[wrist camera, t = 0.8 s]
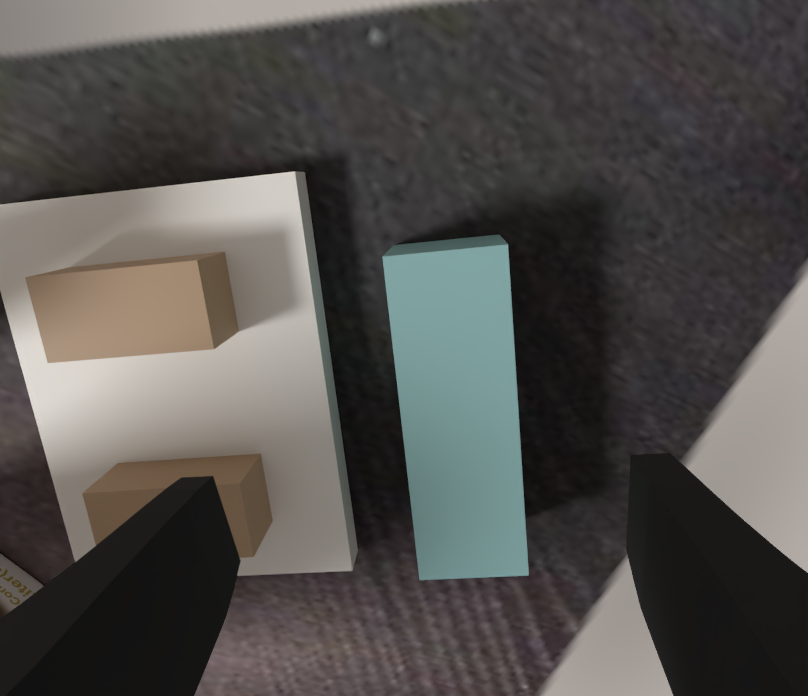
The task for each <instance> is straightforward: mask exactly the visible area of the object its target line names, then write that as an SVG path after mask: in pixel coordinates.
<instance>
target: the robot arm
mask: <svg viewBox="0 0 808 696" xmlns="http://www.w3.org/2000/svg"><path fill="white" fill-rule="evenodd" d="M626 550H627V554H628V558H629V562H630V566H631V570H632V575H633V579H634V583H635V587H636V590H637V595H638V599H639V602H640V606H641V610H642V612H643V615H644V618H645V621H646V623H647V626H648V629H649V631H650V634H651V637H652V640H653V642H654V645H655V648H656V650H657V653H658V656H659V658H660V661H661V663H662V666H663V669H664V672H665V674H666V677H667V680H668V682H669V685H670V687H671V690H672V693H673V695H674V696H808V573H807V572H806V571H804V570H803V569H802V568H800V567H799V566H798V565H796V564H795V563H794V562H793V561H791V560H790V559H789V558H788V557H786V556H785V555H784V554H783V553H781V552H780V551H779V550H778V549H777V548H776V547H774V546H773V545H772V544H771V543H769V541H767V540H766V539H765V538H764V537H763V536H761V535H760V534H759V533H758V532H757V531H756V530H754V529H753V528H752V527H751V526H750V525H749V524H747V523H746V522H745V521H744V520H743V519H742V518H741V517H739V516H738V515H737V514H736V513H735V512H734V511H733V510H731V509H730V508H729V507H728V506H727V505H726V504H725V503H724V502H723V501H722V500H721V499H719V498H718V497H717V496H716V495H715V494H714V493H713V492H712V491H710V489H708V488H707V487H706V486H705V485H704V484H703V483H702V482H701V481H700V480H699V479H698V478H697V477H696V476H694V475H693V474H692V473H691V472H690V471H689V470H688V469H687V468H686V467H685V466H684V465H683V464H681V463H680V462H679V461H678V460H677V459H676V458H675V457H674V456H672V455H671V454H670V453H664V454H644V455H631V465H630V485H629V505H628V525H627V546H626ZM240 562H241V560H240V557H239V554H238V551H237V548H236V545H235V542H234V539H233V536H232V533H231V530H230V526H229V523H228V520H227V517H226V514H225V511H224V508H223V505H222V502H221V499H220V496H219V492H218V489H217V486H216V483H215V480H214V477H213V476H202V477H182V478H180V479H178V480H177V481H176V482H174V483H173V484H171V485H170V486H169V487H167V488H166V489H165V490H164V491H162V492H161V493H160V494H159V495H157V496H156V497H155V498H154V499H152V500H151V501H150V502H149V503H147V504H146V505H145V506H144V507H142V508H141V509H140V510H139V511H138V512H136V513H135V514H134V515H133V516H132V517H130V518H129V519H128V520H127V521H125V522H124V523H123V524H122V525H121V526H119V527H118V528H117V529H116V530H114V531H113V532H112V533H111V534H110V535H108V536H107V537H106V538H105V539H103V540H102V541H101V542H100V543H99V544H97V545H96V546H95V547H94V548H92V549H91V550H90V551H89V552H87V553H86V554H85V555H84V556H83V557H81V558H80V559H79V560H78V561H76V562H75V563H74V564H72V565H71V566H70V567H68V568H67V569H66V570H64V571H63V572H62V573H61V574H59V575H58V576H57V577H55V578H54V579H53V580H51V581H50V582H49V583H47V584H46V585H45V586H43V587H42V588H41V589H39V590H38V591H37V592H36V593H34V594H33V595H32V596H30V597H29V598H28V599H26V600H25V601H24V602H22V603H21V604H20V605H18V606H17V607H16V608H14V609H13V610H11V611H10V612H9V613H7V614H6V615H4V616H3V617H2V618H0V696H194V694H195V692H196V690H197V687H198V685H199V682H200V680H201V677H202V675H203V673H204V670H205V668H206V665H207V663H208V660H209V658H210V655H211V653H212V651H213V648H214V646H215V643H216V641H217V638H218V636H219V633H220V631H221V628H222V625H223V623H224V620H225V618H226V615H227V611H228V608H229V604H230V601H231V597H232V594H233V590H234V586H235V582H236V578H237V574H238V570H239V566H240Z"/></svg>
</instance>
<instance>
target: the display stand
mask: <svg viewBox="0 0 808 696" xmlns="http://www.w3.org/2000/svg"><path fill="white" fill-rule="evenodd" d="M0 292H1V296H2V299H3V303H4V306H5V310H6V314H7V317H8V321H9V325H10V328H11V332H12V335H13V339H14V343H15V346H16V350H17V353H18V357H19V361H20V364H21V368H22V372H23V375H24V379H25V382H26V386H27V390H28V393H29V397H30V401H31V404H32V408H33V411H34V415H35V419H36V422H37V426H38V430H39V433H40V437H41V440H42V444H43V448H44V451H45V455H46V458H47V462H48V466H49V469H50V473H51V477H52V480H53V484H54V487H55V491H56V495H57V498H58V502H59V506H60V509H61V513H62V516H63V520H64V524H65V527H66V531H67V534H68V538H69V542H70V545H71V549H72V553H73V556H74V560H75V562H76V561H78V560H79V559H80V558H81V557H83V556H84V555H85V554H86V553H87V552H89V551H90V550H91V549H92V548H94V547H95V546H96V545H97V544H99V543H100V542H101V541H102V540H103V539H105V538H106V537H107V536H108V535H110V534H111V533H112V532H113V531H114V530H116V529H117V528H118V527H119V526H121V525H122V524H123V523H124V522H125V521H127V520H128V519H129V518H130V517H132V516H133V515H134V514H135V513H136V512H138V511H139V510H140V509H141V508H142V507H144V506H145V505H146V504H147V503H149V502H150V501H151V500H152V499H154V498H155V497H156V496H157V495H159V494H160V493H161V492H162V491H164V490H165V489H166V488H167V487H169V486H170V485H171V484H173V483H174V482H176V481H177V480H178V479H180V478H182V477H202V476H213V477H214V480H215V483H216V486H217V489H218V492H219V496H220V499H221V502H222V505H223V508H224V511H225V514H226V517H227V520H228V523H229V526H230V530H231V533H232V536H233V539H234V542H235V545H236V548H237V551H238V554H239V557H240V560H241V562H240V566H239V570H238V574H237V576H247V575H270V574H292V573H314V572H337V571H353V567H354V563H355V559H356V555H357V551H358V547H357V540H356V533H355V525H354V518H353V511H352V504H351V497H350V490H349V483H348V476H347V468H346V461H345V454H344V447H343V440H342V433H341V426H340V419H339V412H338V404H337V397H336V390H335V383H334V376H333V369H332V362H331V355H330V347H329V340H328V333H327V326H326V319H325V312H324V305H323V298H322V290H321V283H320V276H319V269H318V262H317V255H316V248H315V241H314V233H313V226H312V219H311V212H310V205H309V198H308V191H307V184H306V176H305V172H297V171H294V172H285V173H276V174H267V175H259V176H250V177H241V178H232V179H223V180H214V181H205V182H196V183H187V184H179V185H170V186H161V187H152V188H143V189H134V190H125V191H116V192H107V193H99V194H90V195H81V196H72V197H63V198H54V199H45V200H36V201H27V202H19V203H10V204H1V205H0Z"/></svg>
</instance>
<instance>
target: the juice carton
mask: <svg viewBox="0 0 808 696" xmlns="http://www.w3.org/2000/svg"><path fill="white" fill-rule="evenodd" d="M43 586H44V585H42V584H41V583H40V582H38V581H37V580H36V579H34V578H33V577H32V576H30V575H29V574H28V573H26V572H25V571H24V570H22V569H21V568H20V567H18V566H17V565H15V564H14V563H13V562H11V561H10V560H9V559H7V558H6V557H5V556H3V555H2V554H1V553H0V618H2V617H3V616H4V615H6V614H7V613H9V612H10V611H11V610H13V609H14V608H16V607H17V606H18V605H20V604H21V603H22V602H24V601H25V600H26V599H28V598H29V597H30V596H32V595H33V594H34V593H36V592H37V591H38V590H39V589H41V588H42V587H43Z"/></svg>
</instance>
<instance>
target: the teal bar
mask: <svg viewBox="0 0 808 696" xmlns="http://www.w3.org/2000/svg"><path fill="white" fill-rule="evenodd" d="M383 266H384V274H385V283H386V292H387V301H388V309H389V318H390V327H391V336H392V344H393V353H394V362H395V370H396V379H397V388H398V397H399V405H400V414H401V423H402V431H403V440H404V449H405V458H406V466H407V475H408V484H409V492H410V501H411V510H412V519H413V527H414V536H415V545H416V553H417V562H418V571H419V580H435V579H458V578H481V577H504V576H527V575H529V571H528V555H527V539H526V523H525V507H524V491H523V475H522V459H521V443H520V427H519V411H518V395H517V379H516V363H515V347H514V331H513V315H512V299H511V283H510V267H509V251H508V244H507V243H506V241H505V240H504V239H503V238H502V237H501V236H500V235H489V236H479V237H469V238H459V239H449V240H440V241H430V242H420V243H410V244H400V245H393V246H392V247H391V248H390V249H389V250H388V251H387V252H386V254H385V255H384V256H383Z"/></svg>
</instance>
